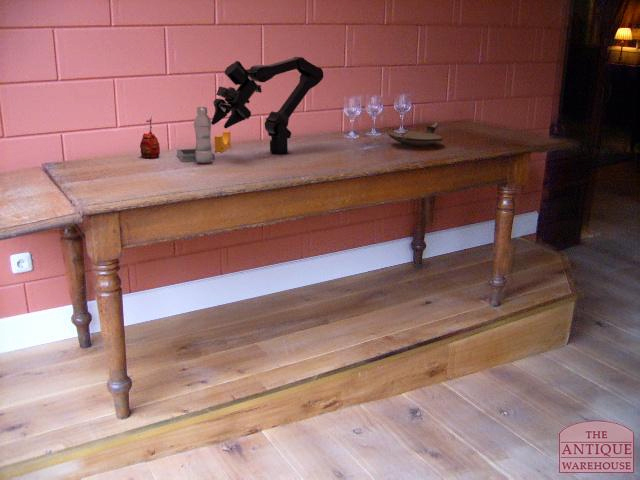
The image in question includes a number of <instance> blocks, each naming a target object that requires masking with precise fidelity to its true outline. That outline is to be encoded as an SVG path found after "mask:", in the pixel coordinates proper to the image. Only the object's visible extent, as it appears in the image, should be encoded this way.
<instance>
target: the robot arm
mask: <svg viewBox="0 0 640 480" xmlns="http://www.w3.org/2000/svg"><path fill="white" fill-rule="evenodd" d="M293 70H296V71H297V72H298V73H299V74H300V75H299V82H298V83H297V85H296V86H295V87H294V90H292V92H291V93H290V95H289V96H288V98H287V99H286V100H285V102H284V103H283V104H282V106H281V107H280V108H279V109H278V111H273V110H272V111H270V112H269V115H268V116H267V117H266V118H265V122H264V129H265V131H266V132H267V134H268V135H267V136H268V137H270V138H271V139H270V140H269V152H270V153H271V155H283V154H284V155H287V154H289V150H288V139H290V138H291V137H292V132H291V131H290V129H288V125H289V123H290V122H289V121H290V117H291V116H292V114H293V113H294V111H296V109H297V108H298V106H299V105H300V103H301V102H302V101H303V99H304V98H305V97H306V95H307V94H308V92H309V91H310V90H311V89H312V88H315V87H317V85H318V84H319V83H320V82H322V81H323V79H324V71H323V69H322V68H321V67H319V66H316V65H314V64H313V63H311V62H309V61H308V60H306V59H305V58H304V57H301V56H294V57H291V58H289V59H286V60H282V61H278V62H275V63H272V64H258V65H251V67H250V68H249V69H246V68H245V67H244V66H243V65H242V63H241V62H240V61H239V60H235V61H234V62H233V63H231V64H229V65H228V66H227V67H226V68H225V70H224V75H225V76H226V77H227V78H228V79H229V80H230V81H231V82H232V83H233V84H234V85H235V86H237V85H239V86H238V87H237V89H236V88H234V87H232V86H229V87H228V88H227V87H225V86H218V89H217V91H216V96H219V97H221V98H215V99H214V101H213V102H212V103H213V106H214V109H215V111H214V113H213V117H212V120H211V126H214V125H216V124H217V123H219V122H220V121H221V120H223V119H224V118H226V117H228V118H227V120H226V121H225V123H224V124H223V128H224V129H228V128H229V127H232V126H234V125H236V124H238V123H240V122H243V121H246V120H248V119H250V118H251V116H252V111H251V110H250V109H249V108H248V107H247V106H246V104H249V103H250V102H251V101H250V99H251V98H252V96H253V95H254V93H255V92H256V93H262V85H261V84H257V82H259V83H266V82H268V81H269V80H271V79H273V78H274V77H275V76H277V75H281V74H284V73H286V72H289V71H290V72H291V71H293ZM223 98H224V99H223ZM229 113H230V115H229V116H228V114H229Z"/></svg>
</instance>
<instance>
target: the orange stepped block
mask: <svg viewBox="0 0 640 480" xmlns="http://www.w3.org/2000/svg"><path fill="white" fill-rule="evenodd" d="M231 144H232V141H231V131H226V130H225V131H222V135H214V152H215V153H217V152H220V153H221V154H222V153H224V152H225V151H226V150H229V149H230V148H231V147H232V145H231Z"/></svg>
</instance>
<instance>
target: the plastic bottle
mask: <svg viewBox="0 0 640 480" xmlns="http://www.w3.org/2000/svg"><path fill="white" fill-rule="evenodd" d="M196 114H197V115H196V116H195V118H194V119H193V129H194V132H195V149H196V152H195V158H196V161H195V162H197V163H198V164H199V163H200V164H208V163H212V161H214V160H213V153H214V152H213V149H212V142H211V141H212V140H211V139H212V138H211V135H212V134H211V132H212V124H211V122H212V120H211V119H210V117H209V115H208V108H207V107H205V106H200V107H199V106H198V107H196ZM212 152H213V153H212Z"/></svg>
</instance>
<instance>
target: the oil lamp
mask: <svg viewBox="0 0 640 480" xmlns="http://www.w3.org/2000/svg"><path fill="white" fill-rule="evenodd" d="M438 126H439V123H438V122H434V123H433V124H432V125H427V126H426V131H414V130H413V131H411V130H406V131H405V132H401V136H398V135H396V134H395V133H394V132H393V131H389V132H388V134H387V135H388V136H389V138H391V139H393V140H394V141H396V142H397V143H400V144H402V145H403V146H410V147H411V146H412V147H421V148H422V147H427V146H428V147H429V146H431V145H434V144H436V143H439V142H441V141H442V140H443V137H442V136H441V135H439V134H435V131H437V128H438Z"/></svg>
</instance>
